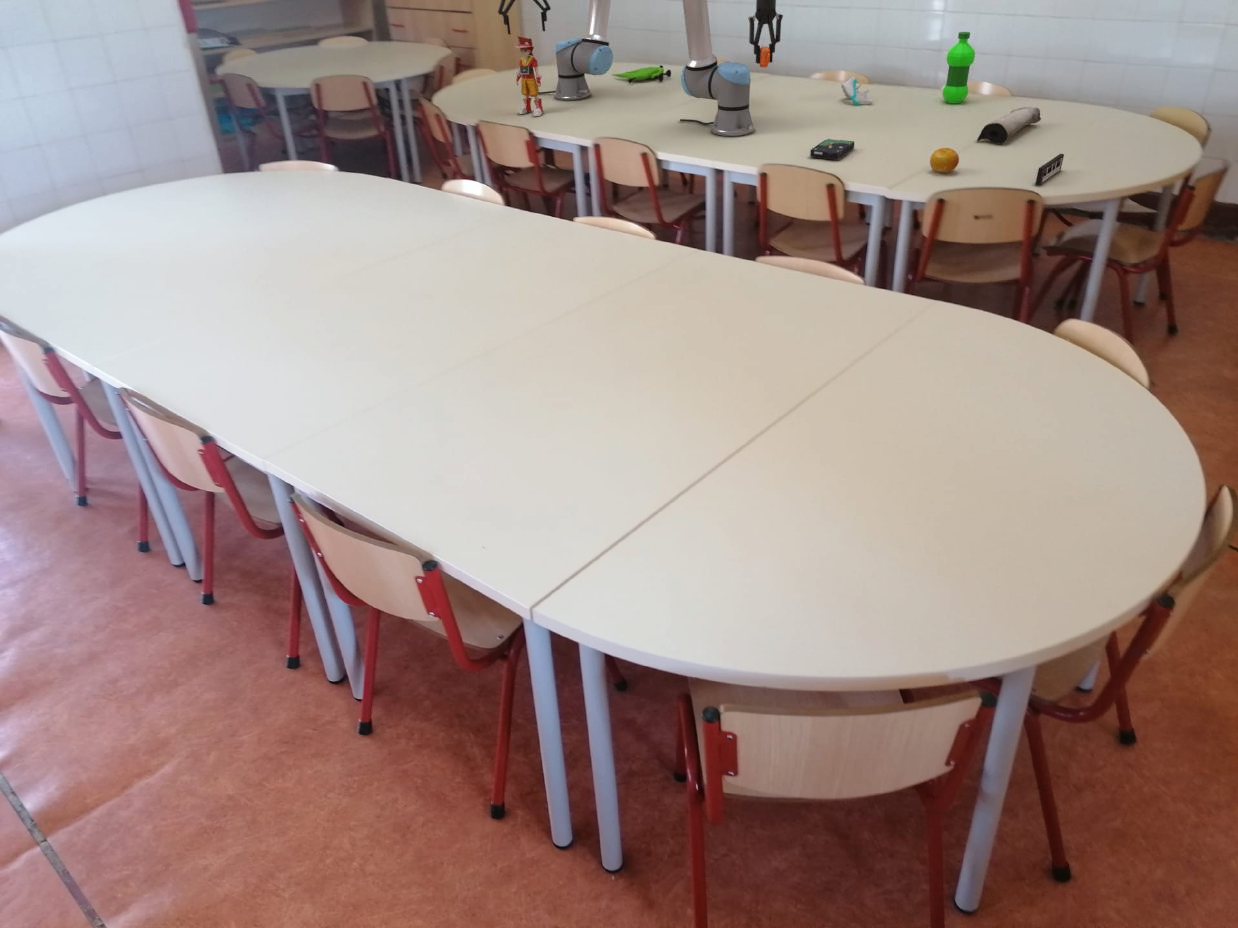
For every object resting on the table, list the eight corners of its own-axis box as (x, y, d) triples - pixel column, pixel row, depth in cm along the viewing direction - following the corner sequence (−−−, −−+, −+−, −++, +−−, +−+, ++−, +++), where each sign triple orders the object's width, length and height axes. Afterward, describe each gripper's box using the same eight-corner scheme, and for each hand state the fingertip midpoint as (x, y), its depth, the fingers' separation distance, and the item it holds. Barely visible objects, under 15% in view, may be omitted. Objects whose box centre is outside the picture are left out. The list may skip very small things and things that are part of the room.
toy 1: (513, 115, 373) (504, 37, 356) (523, 110, 380) (514, 33, 363) (539, 117, 369) (531, 37, 352) (548, 111, 376) (541, 33, 359)
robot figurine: (771, 68, 358) (772, 46, 353) (760, 69, 358) (761, 47, 353) (766, 65, 363) (767, 43, 359) (755, 66, 363) (756, 44, 358)
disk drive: (838, 161, 299) (854, 149, 309) (839, 153, 298) (855, 140, 308) (809, 158, 304) (825, 146, 314) (810, 149, 302) (826, 137, 313)
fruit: (924, 163, 281) (941, 140, 278) (925, 165, 289) (941, 143, 286) (946, 178, 280) (963, 155, 277) (947, 180, 288) (963, 158, 285)
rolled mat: (1008, 112, 326) (1032, 94, 318) (1022, 133, 327) (1046, 116, 319) (972, 135, 309) (997, 117, 301) (987, 157, 310) (1012, 140, 301)
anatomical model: (836, 76, 365) (861, 69, 364) (839, 102, 371) (863, 95, 370) (847, 84, 352) (872, 77, 352) (849, 111, 358) (874, 104, 358)
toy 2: (680, 71, 422) (628, 71, 438) (679, 59, 419) (627, 60, 435) (647, 89, 405) (595, 88, 421) (646, 77, 402) (593, 76, 418)
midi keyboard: (1039, 185, 269) (1043, 168, 266) (1035, 184, 270) (1038, 168, 267) (1060, 170, 279) (1064, 154, 277) (1056, 169, 280) (1060, 153, 277)
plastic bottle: (973, 101, 354) (984, 32, 339) (955, 106, 349) (966, 36, 335) (952, 97, 361) (962, 29, 346) (934, 102, 356) (944, 33, 342)
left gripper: (551, -33, 342) (556, 28, 354) (486, -28, 338) (493, 34, 350) (554, -31, 335) (559, 31, 348) (488, -26, 332) (495, 37, 344)
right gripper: (785, -6, 350) (782, 58, 363) (741, -2, 348) (740, 62, 362) (791, -3, 344) (788, 62, 357) (746, 1, 342) (745, 66, 356)
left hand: (526, 32), depth 349 cm, fingers open, 13 cm apart
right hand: (763, 62), depth 359 cm, fingers closed on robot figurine, 5 cm apart
